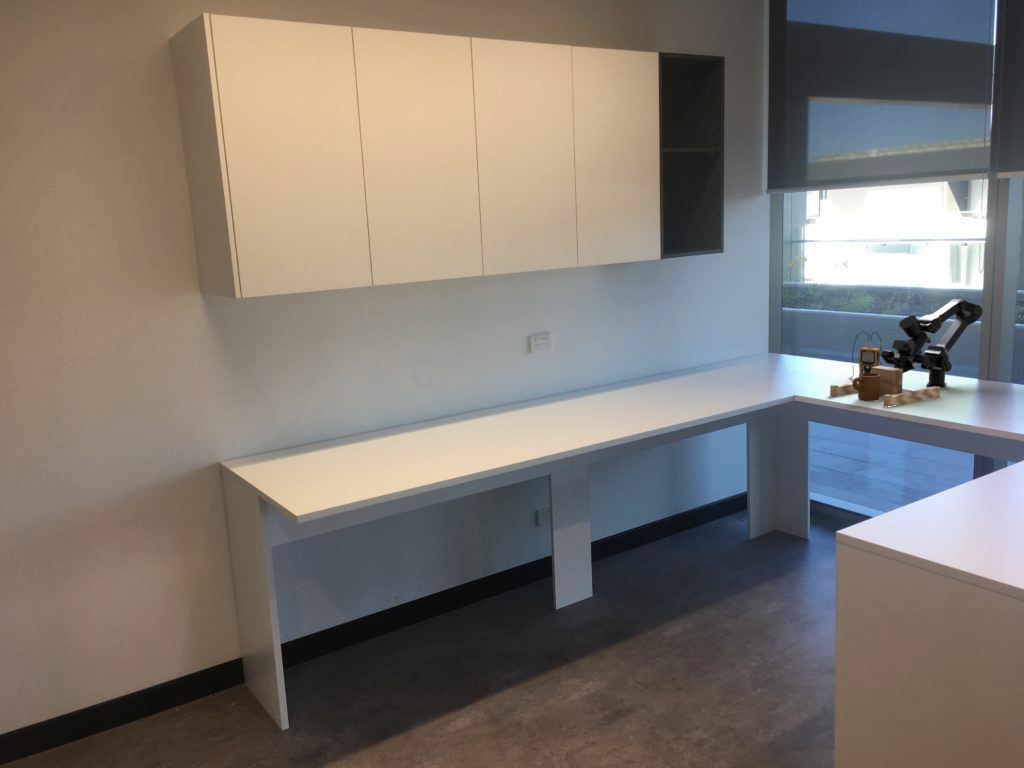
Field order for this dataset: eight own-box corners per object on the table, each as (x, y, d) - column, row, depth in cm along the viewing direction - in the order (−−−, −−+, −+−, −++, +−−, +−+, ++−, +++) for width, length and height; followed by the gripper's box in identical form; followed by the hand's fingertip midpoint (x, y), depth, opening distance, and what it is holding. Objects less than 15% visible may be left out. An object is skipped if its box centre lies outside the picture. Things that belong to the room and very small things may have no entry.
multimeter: (841, 380, 345) (842, 333, 341) (854, 377, 351) (855, 330, 347) (874, 384, 333) (875, 335, 330) (887, 381, 339) (889, 332, 335)
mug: (860, 404, 302) (861, 378, 300) (844, 400, 309) (845, 375, 307) (884, 399, 307) (885, 374, 305) (868, 396, 314) (868, 372, 312)
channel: (880, 386, 330) (880, 376, 329) (939, 396, 307) (940, 385, 307) (830, 395, 318) (830, 385, 317) (887, 407, 295) (888, 396, 294)
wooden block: (879, 391, 318) (880, 365, 317) (901, 395, 310) (902, 369, 308) (870, 393, 316) (871, 367, 314) (892, 397, 307) (893, 370, 306)
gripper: (884, 329, 321) (863, 360, 318) (927, 333, 305) (905, 366, 302) (897, 347, 326) (876, 378, 323) (940, 352, 310) (919, 385, 307)
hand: (894, 376), depth 314 cm, fingers closed
